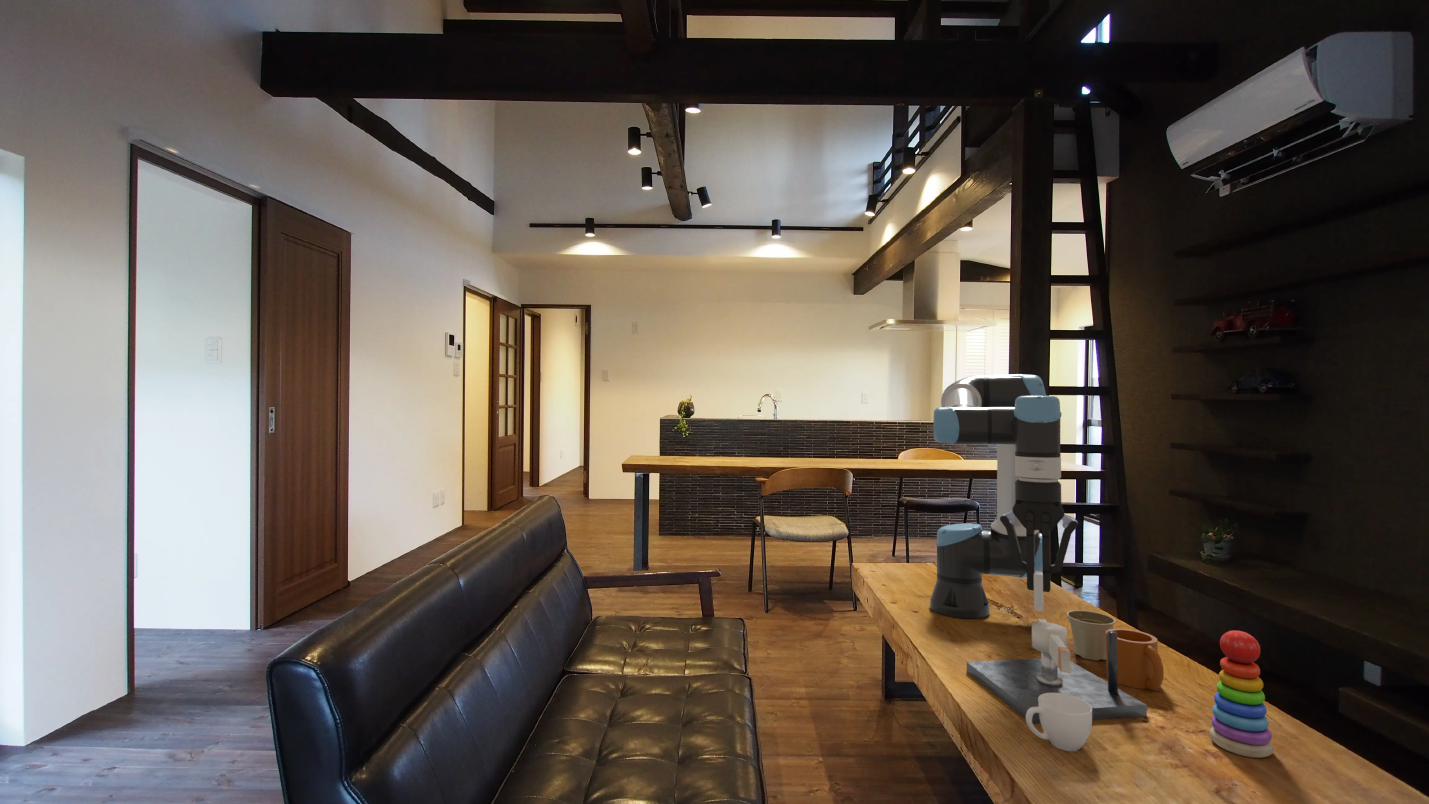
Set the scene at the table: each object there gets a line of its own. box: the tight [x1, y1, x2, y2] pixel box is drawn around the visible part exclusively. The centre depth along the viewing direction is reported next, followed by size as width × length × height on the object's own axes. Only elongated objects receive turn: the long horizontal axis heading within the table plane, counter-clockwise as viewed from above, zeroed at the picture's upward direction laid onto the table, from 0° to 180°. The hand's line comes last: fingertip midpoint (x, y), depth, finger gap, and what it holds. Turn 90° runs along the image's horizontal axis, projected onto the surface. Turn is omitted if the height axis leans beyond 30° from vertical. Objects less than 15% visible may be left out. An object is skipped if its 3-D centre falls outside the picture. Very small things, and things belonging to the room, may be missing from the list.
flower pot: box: [1066, 609, 1117, 662], centre depth 140 cm, size 9×9×9 cm
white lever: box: [1031, 618, 1071, 673], centre depth 119 cm, size 18×6×4 cm, turn 164°
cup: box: [1025, 693, 1093, 752], centre depth 102 cm, size 8×10×7 cm
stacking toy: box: [1208, 630, 1274, 759], centre depth 102 cm, size 8×8×19 cm
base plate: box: [966, 631, 1148, 724], centre depth 122 cm, size 22×22×13 cm
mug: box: [1105, 628, 1165, 691], centre depth 126 cm, size 9×12×9 cm
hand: (1038, 608), depth 115 cm, fingers closed
